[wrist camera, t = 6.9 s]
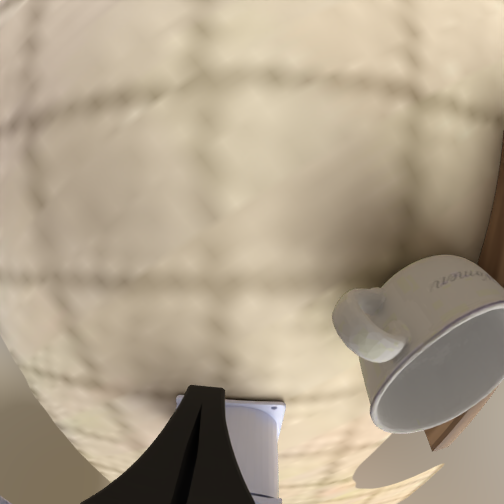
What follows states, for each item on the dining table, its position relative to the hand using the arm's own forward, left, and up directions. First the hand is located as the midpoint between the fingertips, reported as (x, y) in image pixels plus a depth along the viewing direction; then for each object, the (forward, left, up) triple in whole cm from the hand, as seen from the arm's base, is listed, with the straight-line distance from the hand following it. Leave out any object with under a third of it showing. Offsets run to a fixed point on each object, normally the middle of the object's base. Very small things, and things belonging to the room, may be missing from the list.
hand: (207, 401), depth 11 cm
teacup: (+12, 0, -9) cm, 15 cm away
